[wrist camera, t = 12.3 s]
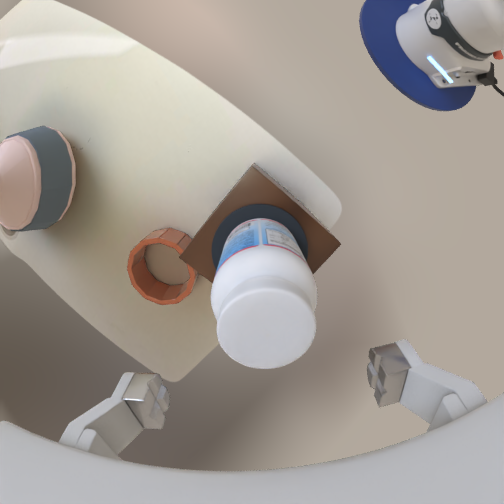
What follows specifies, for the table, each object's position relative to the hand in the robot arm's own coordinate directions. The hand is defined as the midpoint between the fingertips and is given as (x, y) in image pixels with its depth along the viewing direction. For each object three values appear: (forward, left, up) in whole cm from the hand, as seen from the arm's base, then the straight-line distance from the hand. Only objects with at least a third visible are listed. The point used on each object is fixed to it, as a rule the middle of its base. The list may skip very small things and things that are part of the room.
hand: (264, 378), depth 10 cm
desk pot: (+16, +6, -34) cm, 38 cm away
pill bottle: (0, 0, -14) cm, 14 cm away
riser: (0, 0, -34) cm, 34 cm away
